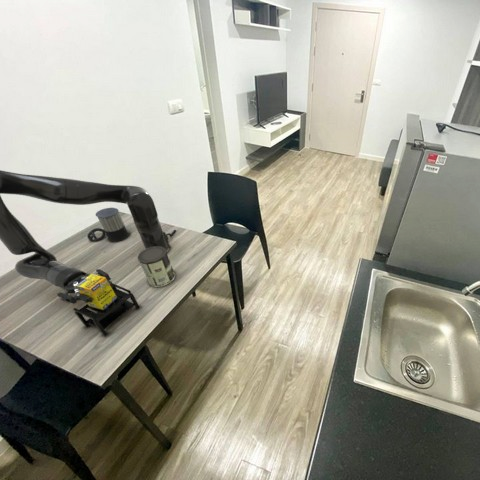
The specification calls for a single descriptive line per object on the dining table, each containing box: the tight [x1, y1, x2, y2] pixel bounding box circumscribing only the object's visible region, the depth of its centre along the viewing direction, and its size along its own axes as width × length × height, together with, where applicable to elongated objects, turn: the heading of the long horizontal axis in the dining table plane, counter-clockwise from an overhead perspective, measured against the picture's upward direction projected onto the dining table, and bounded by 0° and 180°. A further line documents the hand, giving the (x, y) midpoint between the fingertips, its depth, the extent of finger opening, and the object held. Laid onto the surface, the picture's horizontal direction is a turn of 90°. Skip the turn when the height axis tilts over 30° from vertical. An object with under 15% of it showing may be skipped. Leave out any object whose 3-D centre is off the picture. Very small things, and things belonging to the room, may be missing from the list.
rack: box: [72, 283, 141, 337], centre depth 94 cm, size 14×10×10 cm
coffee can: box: [136, 246, 176, 288], centre depth 110 cm, size 10×10×14 cm
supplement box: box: [75, 273, 117, 311], centre depth 89 cm, size 6×6×11 cm
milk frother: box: [86, 207, 130, 243], centre depth 129 cm, size 14×16×15 cm
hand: (101, 292), depth 88 cm, fingers closed on supplement box, 6 cm apart
